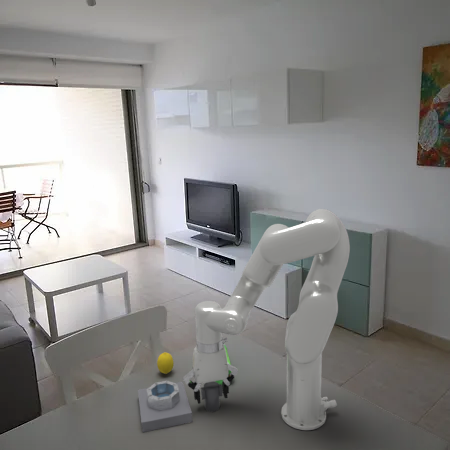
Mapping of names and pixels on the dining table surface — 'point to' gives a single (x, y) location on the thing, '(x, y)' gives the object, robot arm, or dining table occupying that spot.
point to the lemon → (165, 363)
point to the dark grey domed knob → (211, 395)
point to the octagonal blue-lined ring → (166, 401)
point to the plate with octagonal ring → (164, 411)
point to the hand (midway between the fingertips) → (211, 397)
